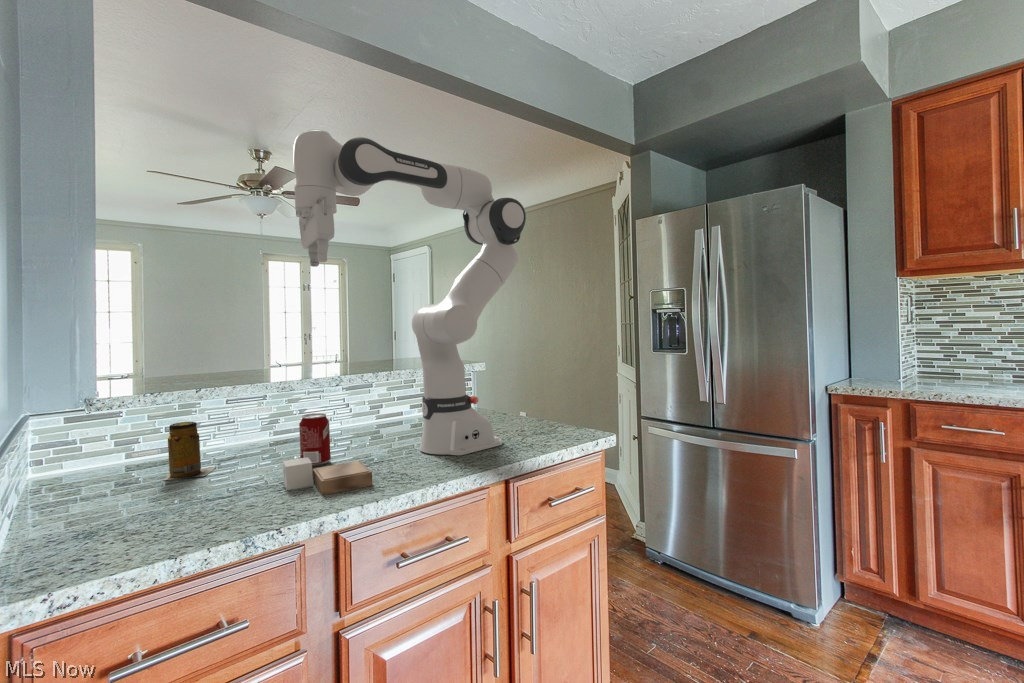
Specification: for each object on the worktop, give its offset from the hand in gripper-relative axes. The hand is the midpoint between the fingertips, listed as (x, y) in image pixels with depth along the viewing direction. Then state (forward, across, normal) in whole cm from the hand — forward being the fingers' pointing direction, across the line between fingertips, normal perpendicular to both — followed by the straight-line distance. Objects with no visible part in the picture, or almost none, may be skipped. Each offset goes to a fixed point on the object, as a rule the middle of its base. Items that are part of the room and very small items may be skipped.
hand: (318, 264), depth 111 cm
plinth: (+48, -13, -1) cm, 50 cm away
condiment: (+48, +15, +27) cm, 57 cm away
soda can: (+48, +6, +1) cm, 49 cm away
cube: (+48, -8, +7) cm, 49 cm away
